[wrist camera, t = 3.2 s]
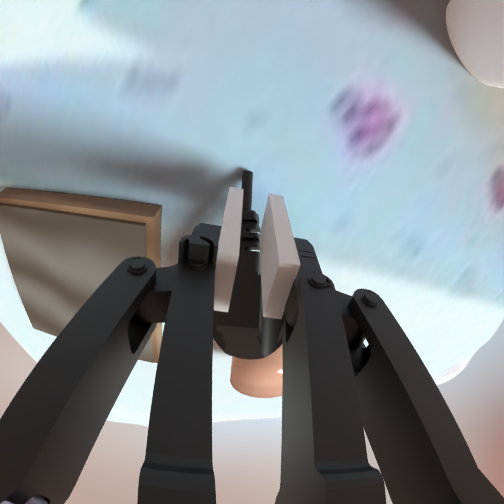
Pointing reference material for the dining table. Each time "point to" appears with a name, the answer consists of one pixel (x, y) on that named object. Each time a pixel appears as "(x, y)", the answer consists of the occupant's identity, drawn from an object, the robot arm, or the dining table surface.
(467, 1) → the cup
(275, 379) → the peach rounded cylinder
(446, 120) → the dining table surface
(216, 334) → the power plug
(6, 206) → the stand
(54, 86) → the dining table surface
